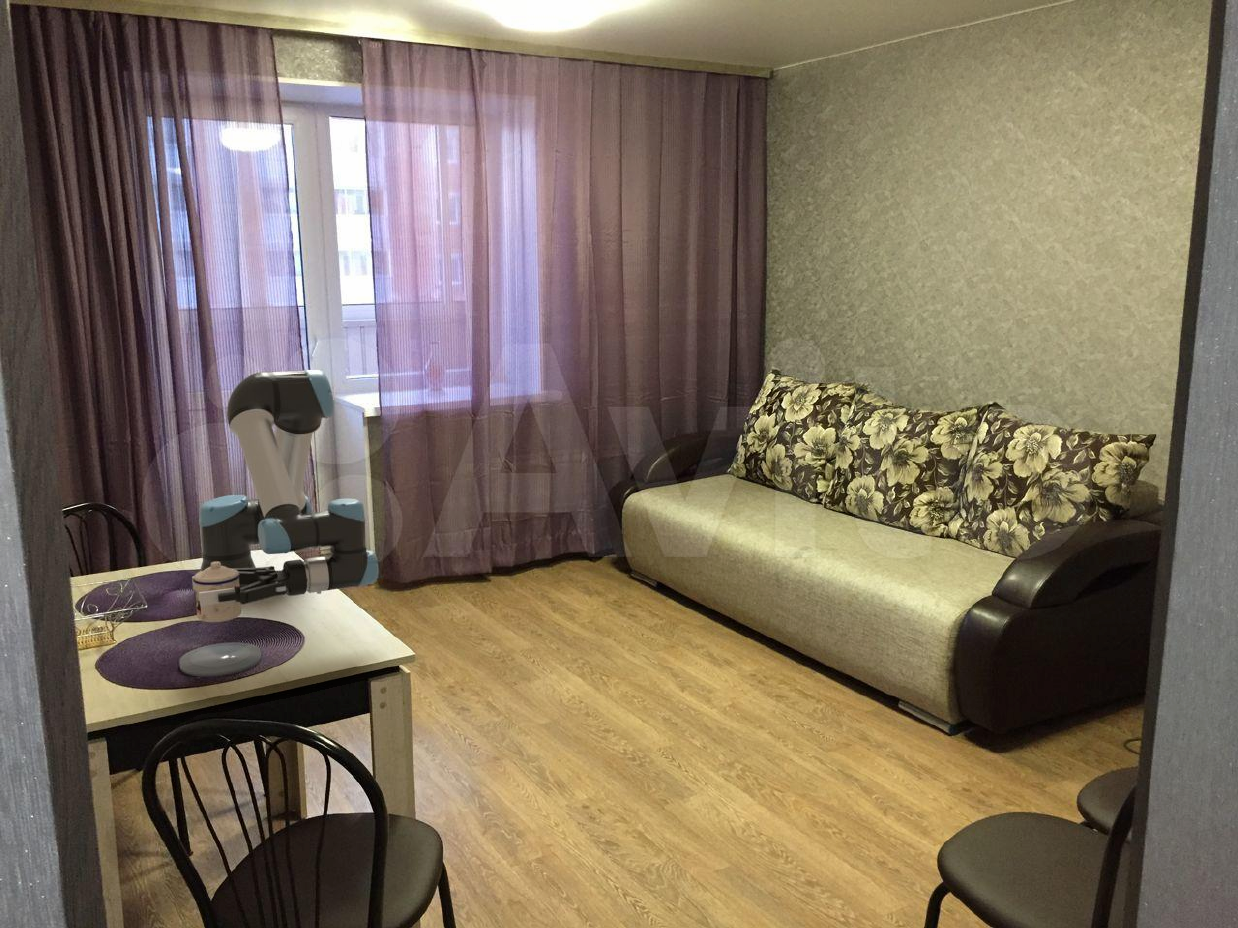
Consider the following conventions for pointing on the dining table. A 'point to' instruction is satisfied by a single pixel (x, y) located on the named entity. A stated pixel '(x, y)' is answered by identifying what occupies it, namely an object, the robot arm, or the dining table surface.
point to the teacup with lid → (216, 580)
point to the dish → (220, 659)
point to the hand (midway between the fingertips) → (196, 591)
